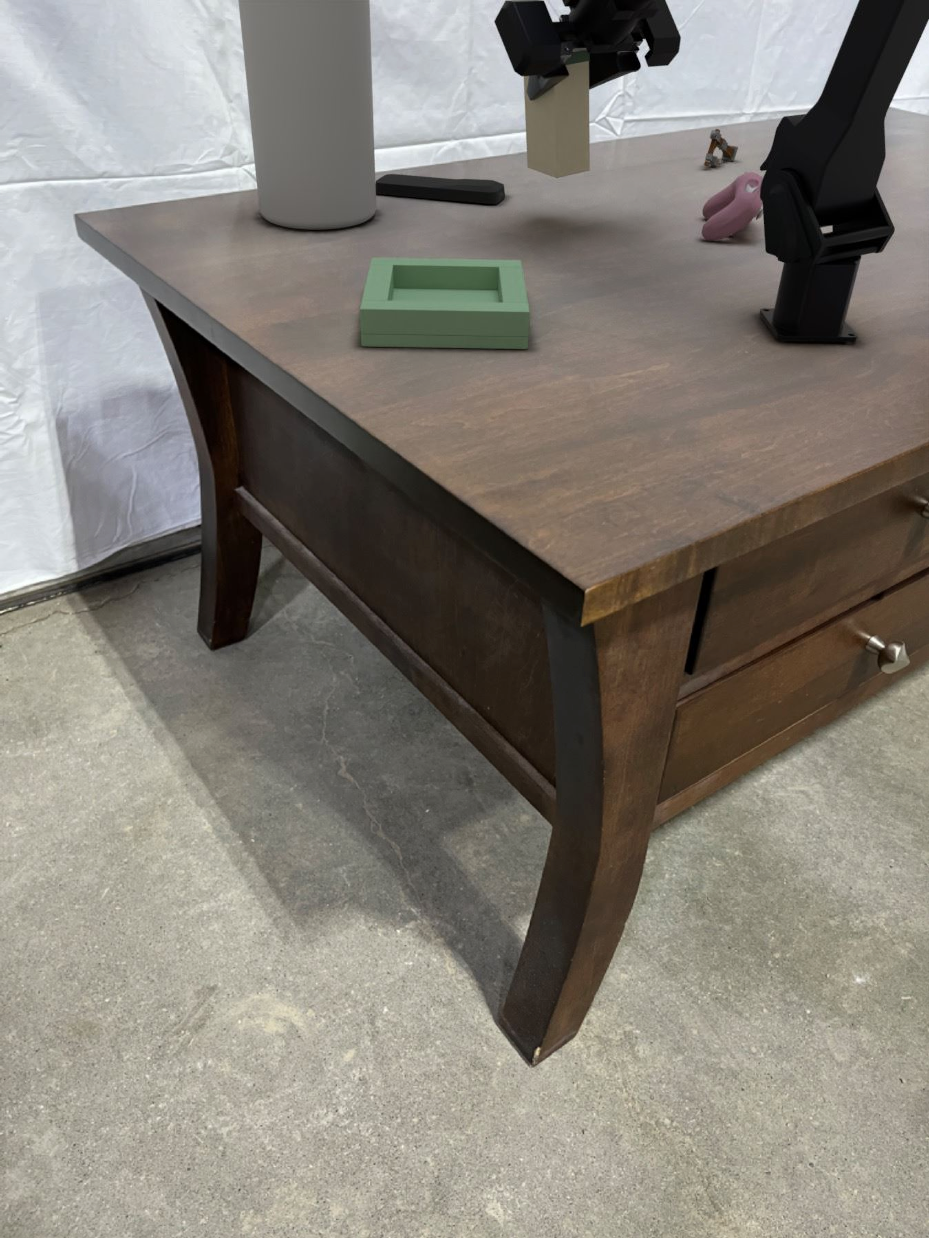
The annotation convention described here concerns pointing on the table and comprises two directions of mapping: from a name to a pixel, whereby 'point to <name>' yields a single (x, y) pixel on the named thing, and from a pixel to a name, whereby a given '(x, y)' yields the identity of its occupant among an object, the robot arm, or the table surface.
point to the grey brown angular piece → (721, 143)
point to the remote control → (441, 188)
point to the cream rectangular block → (560, 122)
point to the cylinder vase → (311, 110)
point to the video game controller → (733, 207)
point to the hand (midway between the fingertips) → (549, 94)
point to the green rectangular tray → (445, 304)
